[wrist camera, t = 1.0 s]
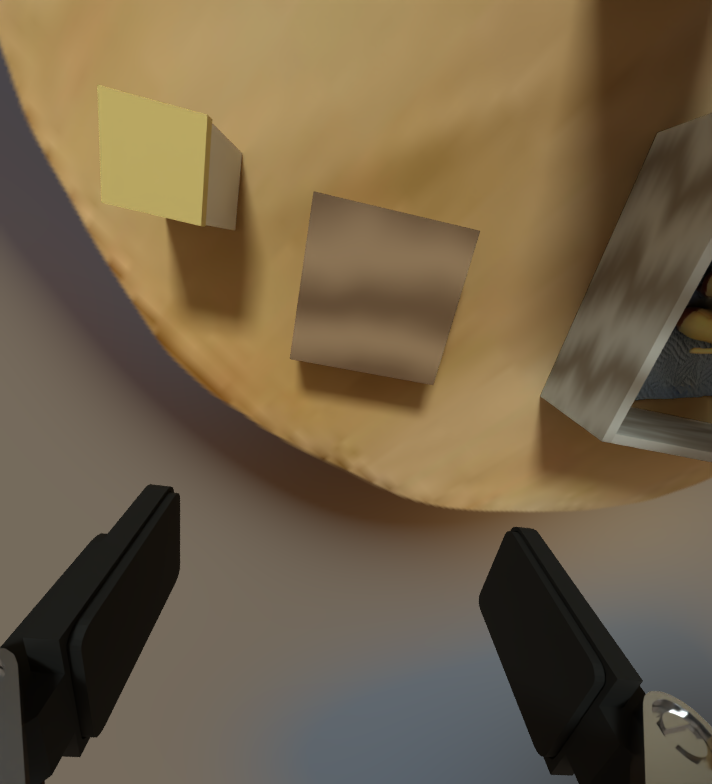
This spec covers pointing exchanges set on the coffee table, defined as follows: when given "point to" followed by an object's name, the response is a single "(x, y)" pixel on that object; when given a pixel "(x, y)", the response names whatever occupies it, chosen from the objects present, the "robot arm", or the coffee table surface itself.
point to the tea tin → (166, 161)
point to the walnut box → (379, 289)
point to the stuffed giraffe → (686, 351)
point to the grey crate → (642, 300)
